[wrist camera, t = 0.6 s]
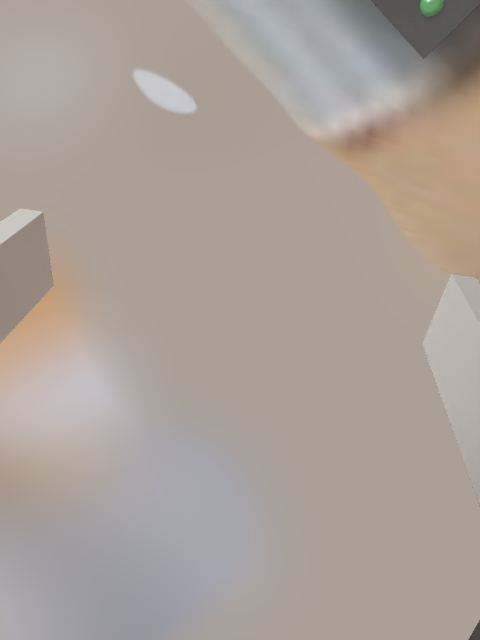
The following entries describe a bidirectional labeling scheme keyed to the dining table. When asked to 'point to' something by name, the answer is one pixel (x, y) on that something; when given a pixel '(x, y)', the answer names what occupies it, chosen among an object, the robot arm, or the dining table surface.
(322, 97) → the dining table surface
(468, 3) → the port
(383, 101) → the dining table surface
